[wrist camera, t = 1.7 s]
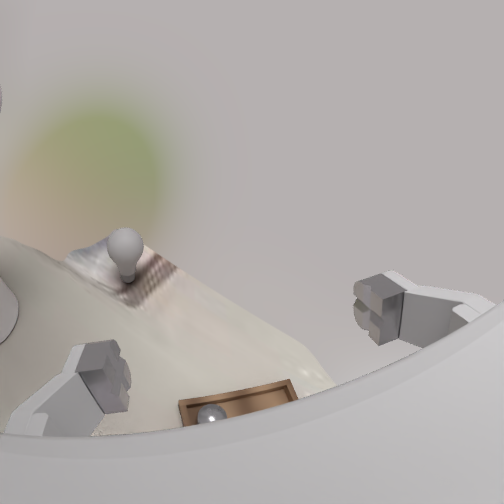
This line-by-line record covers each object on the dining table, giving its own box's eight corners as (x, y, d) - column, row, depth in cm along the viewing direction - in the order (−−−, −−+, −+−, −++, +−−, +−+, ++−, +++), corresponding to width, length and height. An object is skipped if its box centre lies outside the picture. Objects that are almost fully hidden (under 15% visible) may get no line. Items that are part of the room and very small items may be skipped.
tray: (203, 493, 27) (204, 492, 26) (178, 405, 36) (178, 400, 35) (318, 460, 33) (324, 457, 32) (285, 384, 42) (289, 378, 41)
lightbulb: (119, 265, 53) (114, 217, 46) (149, 272, 53) (148, 223, 46) (107, 289, 48) (99, 239, 41) (139, 296, 48) (135, 247, 42)
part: (200, 437, 33) (202, 432, 31) (193, 413, 35) (194, 406, 33) (227, 432, 34) (230, 426, 32) (219, 409, 36) (222, 401, 34)
